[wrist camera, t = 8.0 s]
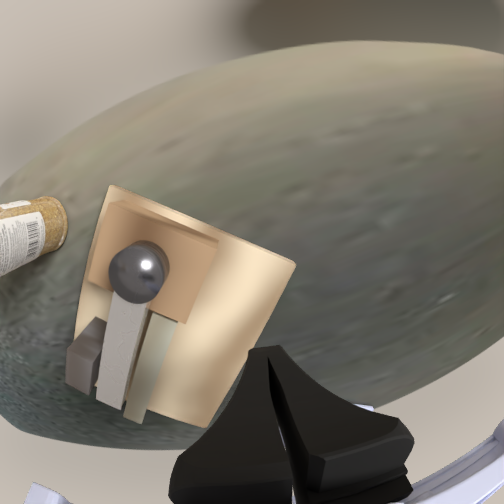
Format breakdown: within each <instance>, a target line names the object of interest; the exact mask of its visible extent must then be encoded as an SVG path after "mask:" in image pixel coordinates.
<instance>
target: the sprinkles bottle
mask: <svg viewBox="0 0 504 504" xmlns="http://www.w3.org/2000/svg"><path fill="white" fill-rule="evenodd" d="M67 224H68V223H67V216H66V213H65V210H64V208H63V207H62V205H61V203H60V202H59V201H58V200H56V199H55V198H53V197H49V196H43V197H41V198H39V199H35V200H29V201H17V202H11V203H7V204H1V205H0V277H1V276H3V275H5V274H7V273H9V272H11V271H13V270H15V269H16V268H18V267H20V266H22V265H24V264H26V263H28V262H30V261H32V260H34V259H36V258H37V257H38V256H40V255H43V254H45V253H47V252H51V251H54V250H57V249H58V248H59V247H60V246H61V245H62V244H63V242H64V241H65V238H66V235H67V229H68V225H67Z"/></svg>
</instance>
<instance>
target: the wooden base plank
mask: <svg viewBox="0 0 504 504" xmlns="http://www.w3.org/2000/svg"><path fill="white" fill-rule="evenodd" d="M140 240H147V241H151V242H153V243H155V244H157V245H158V246H160V247H161V248H162V249H163V250H164V252H165V253H166V255H167V257H168V260H169V265H170V271H169V275H168V278H167V280H166V281H165V283H164V285H163V286H162V288H161V289H160V291H159V293H158V294H157V296H156V297H155V298H154V299H152V300H151V304H150V307H149V310H148V314H147V317H146V320H145V324H144V327H143V331H142V334H141V338H140V342H139V345H138V349H137V353H136V357H135V361H134V365H133V369H132V373H131V377H130V381H129V386H128V390H127V394H126V398H125V400H126V401H127V403H126V407H125V412H124V416H123V417H125V418H127V419H130V420H132V421H135V422H137V423H140V424H142V421H143V418H144V415H145V412H146V409H148V410H151V411H154V412H156V413H159V414H162V415H165V416H168V417H170V418H173V419H176V420H180V421H183V422H186V423H189V424H192V425H196V426H199V427H203V428H206V427H207V426H208V424H209V422H210V421H211V419H212V418H213V416H214V414H215V413H216V411H217V409H218V408H219V406H220V404H221V403H222V401H223V399H224V397H225V396H226V394H227V392H228V391H229V389H230V387H231V385H232V384H233V382H234V380H235V379H236V377H237V375H238V373H239V372H240V370H241V368H242V366H243V364H244V363H245V361H246V359H247V357H248V351H249V350H250V349H252V348H253V347H254V345H255V343H256V341H257V339H258V337H259V336H260V334H261V332H262V330H263V328H264V326H265V324H266V323H267V321H268V319H269V317H270V315H271V313H272V311H273V309H274V308H275V306H276V304H277V302H278V300H279V298H280V296H281V294H282V292H283V290H284V288H285V286H286V284H287V282H288V280H289V279H290V277H291V275H292V273H293V271H294V269H295V267H296V264H295V263H294V262H293V261H292V260H289V259H287V258H285V257H282V256H280V255H278V254H276V253H273V252H271V251H269V250H266V249H264V248H262V247H259V246H257V245H255V244H252V243H250V242H248V241H246V240H243V239H241V238H239V237H236V236H234V235H232V234H229V233H227V232H225V231H222V230H220V229H218V228H215V227H213V226H211V225H208V224H206V223H204V222H201V221H199V220H197V219H194V218H192V217H190V216H187V215H185V214H183V213H180V212H178V211H175V210H173V209H171V208H168V207H166V206H164V205H161V204H159V203H157V202H154V201H152V200H150V199H147V198H145V197H142V196H140V195H138V194H135V193H133V192H130V191H128V190H126V189H123V188H121V187H119V186H116V185H110V186H109V189H108V192H107V195H106V198H105V201H104V204H103V207H102V210H101V213H100V216H99V220H98V223H97V226H96V230H95V234H94V237H93V241H92V245H91V249H90V253H89V257H88V261H87V265H86V270H85V275H84V279H83V284H82V290H81V295H80V301H79V307H78V313H77V320H76V327H75V336H74V341H73V343H72V344H71V345H70V346H69V347H68V348H67V357H66V382H65V383H67V384H69V385H70V386H72V387H74V388H76V389H78V390H79V391H81V392H83V393H85V394H87V395H89V394H90V392H91V391H92V389H93V387H94V386H96V387H97V384H98V376H99V368H100V361H101V355H102V348H103V342H104V337H105V331H106V326H107V321H108V316H109V311H110V306H111V302H112V298H113V293H114V289H113V288H112V286H111V284H110V280H109V274H108V271H109V265H110V262H111V260H112V258H113V257H114V256H115V255H116V254H117V253H118V252H120V251H121V250H123V249H124V248H126V247H127V246H129V245H130V244H132V243H134V242H136V241H140Z"/></svg>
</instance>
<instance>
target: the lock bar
mask: <svg viewBox="0 0 504 504" xmlns="http://www.w3.org/2000/svg"><path fill="white" fill-rule="evenodd" d="M169 271H170V265H169V260H168V257H167V255H166V253H165V252H164V250H163V249H162V248H161V247H160V246H158V245H157V244H155V243H153V242H151V241H147V240H140V241H136V242H134V243H132V244H130V245H129V246H127V247H126V248H124V249H123V250H121V251H120V252H118V253H117V254H116V255H115V256H114V257H113V258H112V260H111V262H110V265H109V271H108V274H109V280H110V284H111V286H112V288H113V289H114V293H113V298H112V302H111V306H110V311H109V316H108V321H107V326H106V331H105V337H104V342H103V348H102V355H101V361H100V368H99V376H98V384H97V394H96V399H97V400H99V401H101V402H103V403H106V404H108V405H110V406H112V407H114V408H117V409H119V410H121V408H122V405H123V403H124V400H125V398H126V394H127V390H128V386H129V381H130V377H131V373H132V369H133V365H134V361H135V357H136V353H137V349H138V345H139V342H140V338H141V334H142V331H143V327H144V324H145V320H146V317H147V314H148V310H149V307H150V304H151V300H152V299H154V298H155V297H156V296H157V294H158V293H159V291H160V289H161V288H162V286H163V285H164V283H165V281H166V280H167V278H168V275H169Z"/></svg>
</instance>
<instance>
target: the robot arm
mask: <svg viewBox="0 0 504 504" xmlns="http://www.w3.org/2000/svg"><path fill="white" fill-rule="evenodd" d="M373 410H374V409H373V407H372V406H365V405H358V404H352V403H350V402H348V401H346V400H344V399H342V398H340V397H338V396H336V395H335V394H333V393H331V392H330V391H328V390H327V389H325V388H324V387H322V386H321V385H320V384H318V383H317V382H316V381H315V380H313V379H312V378H311V377H310V376H309V375H307V374H306V373H305V372H304V371H303V370H302V369H301V368H300V367H299V366H298V365H297V364H296V363H295V362H294V361H293V360H292V359H291V358H290V357H289V355H288V354H287V353H286V352H285V350H284V349H283V348H282V347H281V346H280V345H276V346H269V347H261V348H253V349H250V350H249V351H248V357H247V362H246V365H245V369H244V371H243V374H242V377H241V380H240V382H239V384H238V386H237V388H236V390H235V392H234V394H233V396H232V398H231V400H230V401H229V403H228V405H227V406H226V408H225V409H224V411H223V412H222V413H221V415H220V416H219V417H218V419H217V420H216V421H215V423H214V424H213V425H212V426H211V427H210V428H209V429H208V430H207V431H206V432H205V433H204V435H203V436H202V437H201V438H200V439H199V440H198V441H196V442H195V443H194V444H193V445H192V446H190V447H189V448H188V449H187V450H186V451H184V452H183V453H182V454H181V455H179V456H178V458H177V460H176V463H175V465H174V468H173V471H172V474H171V478H170V485H169V494H168V496H169V498H170V500H171V501H172V502H173V503H174V504H292V502H293V504H482V503H483V502H484V501H485V500H487V499H488V498H489V497H490V496H491V495H493V493H495V492H496V491H497V490H498V489H499V488H501V487H502V486H503V485H504V419H503V420H502V421H501V422H500V423H499V425H498V426H497V428H496V429H495V431H494V433H493V434H492V435H491V436H490V437H489V438H487V439H486V440H485V441H484V442H482V443H481V444H479V445H478V446H476V447H475V448H474V449H472V450H471V451H469V452H468V453H466V454H465V455H464V456H462V457H460V458H459V459H457V460H456V461H454V462H452V463H451V464H449V465H447V466H446V467H444V468H442V469H441V470H439V471H437V472H436V473H433V474H432V475H430V476H428V477H426V478H424V479H422V480H420V481H419V482H416V483H414V484H412V485H411V484H410V482H409V480H408V479H407V477H406V474H407V472H408V470H407V468H406V467H405V465H404V463H405V461H406V459H407V458H408V456H409V454H410V452H411V451H412V448H413V445H414V438H413V436H412V435H411V433H410V432H409V430H408V429H407V427H406V426H405V425H404V424H403V423H402V422H401V421H400V419H399V418H396V417H392V416H388V415H384V414H380V413H376V412H373ZM277 422H278V423H277ZM278 425H279V426H278ZM285 449H286V450H285ZM292 486H293V490H294V496H292ZM24 504H72V503H70V502H68V500H66V498H64V497H63V496H62V495H60V494H59V493H57V492H56V491H54V490H51V489H49V488H47V487H44V486H42V485H40V484H37V483H35V482H33V483H32V486H31V488H30V490H29V492H28V495H27V497H26V499H25V502H24Z"/></svg>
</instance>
